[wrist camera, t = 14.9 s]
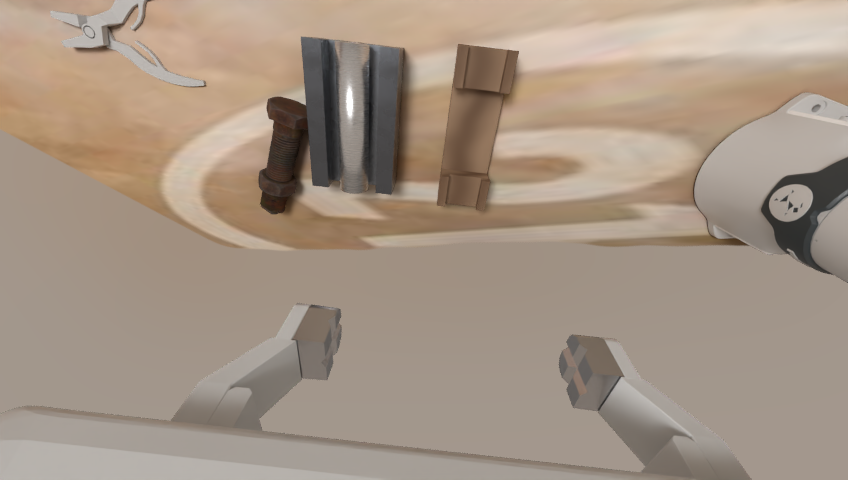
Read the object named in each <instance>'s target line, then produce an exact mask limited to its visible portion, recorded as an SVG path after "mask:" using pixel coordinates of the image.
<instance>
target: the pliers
mask: <svg viewBox="0 0 848 480" xmlns="http://www.w3.org/2000/svg"><path fill="white" fill-rule="evenodd" d="M147 1H148V0H115V2H114V4H113V6H112V8H111V9H110V10H108V11H105V12H103V13H100V14H98V15H94V16H86V15H79V14H72V13H66V12H58V11H50V14H51V17H53V18H55V19H58V20H61V21H64V22H66V23H69V24H72V25H75V26H77V27H81V28H82V32H83V35H82V36H78V37H74V38H70V39H67V40H63V41H61V42H62V44H63V45H64V47H86V48H100V47H102V46H107V47H108V48H110V49H113V50H116V51H118V52H120V53H121V54H123V55H124V56H126V57H127V58H129V59H130V60H131V61H132V62H133V63H134V64H135V65H137V66H138V67H139V68H140V69H142V70H144V71H145V72H147V73H148V74H150V75H152V76H154V77H156V78H159V79H161V80H164V81H166V82H169V83H172V84H177V85H181V86H204V85H206V83H205V81H203V80H197V79H193V78H189V77H185V76H181V75H178V74H175V73H173V72H170V71H168V70H167V69H166V68H165V67H164V66H163V64H162V63H161V61H160V60H159V58H158V57H157V56H156V55H155V54H154V53H153V52H152V51H151V50H150V49H149V48H148V47H146V46H145V45H144V44H142V43H140V42H139V41H135V43H136V44H137V45H139V46H140V47H142V48H143V49H144V50H146V51H147V52H148V53H149V54H150V55H151V57H152V58H153V59H154V61H155V63H156V65H155V64H153V63H152V62H151V61H149V60H148V59H147V58H145V57H144V56H143V55H142V54H141V53H139V52H138V51H137V50H136V49H135V48H134V47H132V46H130V45H127V44H124V43H122V42H119V41H116V40H115V38H114V36H113V35H112V33H111V31H110V30H109V28H108V27H107V26H116V25H119V24H123V23H125V21H126V20H127V18H128V16H129V15H130V13H131V12H132V10H133V9H134V8H135V7H136V6H137V5H138V8H139V14H138V19H137V20H136V22H135V23H134V24H133V25H132V26H131V27H130V28H131V30H135V29H136V28H138V27H139V26H140V24H141V23H142V22H143V19H144V16H145V5H146V2H147Z"/></svg>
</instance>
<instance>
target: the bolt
mask: <svg viewBox="0 0 848 480" xmlns="http://www.w3.org/2000/svg"><path fill="white" fill-rule="evenodd" d="M267 112H268V117H269V119H272V120H274V124H273V129H274V130H273V136H272V141H271V146H270V151H269V158H268V163H267V164H268V165H267V168H265V169H263V170H261V171H260V173H259V187H260V189H261V190H263V191H262V197H261V203H260V204H261V207H262V208H264V209H265V210H266V211H268V212H269V213H271V214H278V213H282V212H283V211H284V210H285V205H286V201H287V197H288V196H290V195H292V194H293V193H295V190H296V179H295V177H294V176H293V175H292V174H293V171H294V165H295V161H296V157H297V153H298V149H299V144H300V140H301V137H302V135H303V131H304V129H308V120H307V108H306V105H303V104H301V103H299V102H297V101H294V100H291V99H287V98H283V97H273V98H270V99H268V102H267Z"/></svg>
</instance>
